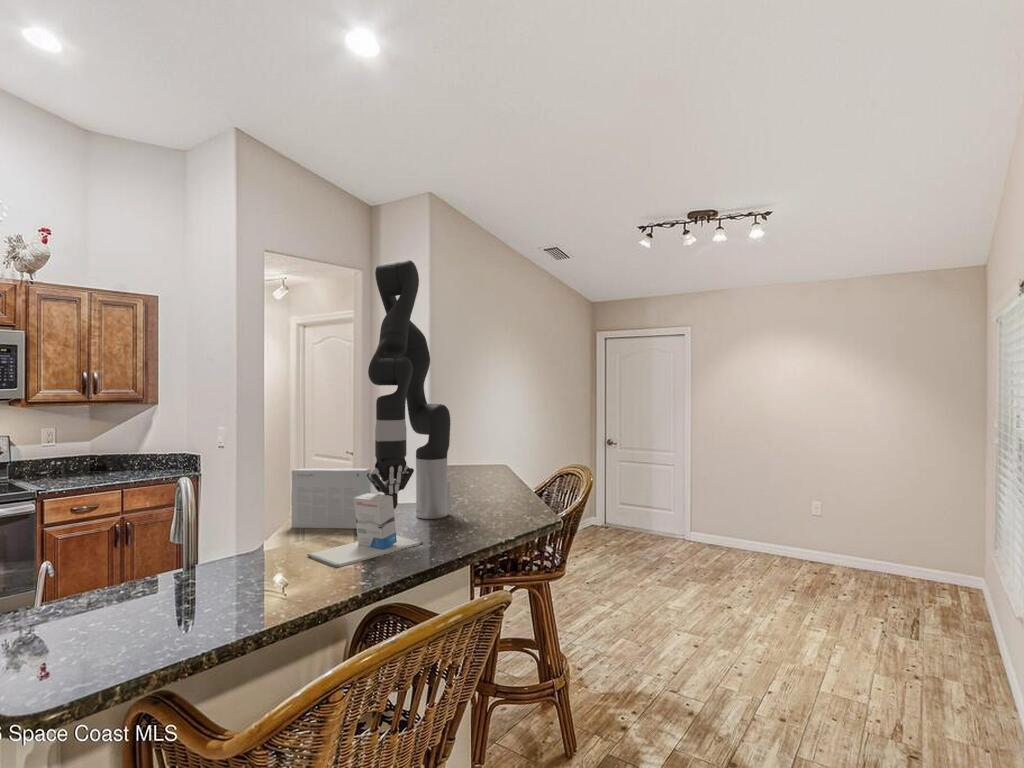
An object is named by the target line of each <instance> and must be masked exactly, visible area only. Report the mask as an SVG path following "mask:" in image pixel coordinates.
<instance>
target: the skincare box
mask: <svg viewBox="0 0 1024 768" xmlns="http://www.w3.org/2000/svg"><path fill="white" fill-rule="evenodd" d="M371 472H372V470H371V468H352V467H351V468H349V467H345V468H342V467H338V468H330V467H329V468H327V467H326V468H320V467H317V468H314V467H313V468H310V467H309V468H305V467H304V468H296V469H291V497H290V498H291V500H290V501H291V502H290V503H291V524H290V525H291V529H292V528H293V529H348V530H350V529H351V530H352V529H353V530H354V529H355V530H357V526H356V517H355V506H354V498H355V497H358V496H361V495H364V494H366V493H371V491H372V489H371V484H372V483H371V481H370V480H369V479H368V477H367V474H368V473H371ZM371 494H372V493H371Z"/></svg>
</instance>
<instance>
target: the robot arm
mask: <svg viewBox="0 0 1024 768" xmlns="http://www.w3.org/2000/svg"><path fill="white" fill-rule="evenodd" d="M418 271H419V270H418V268H417V265H416V264H415V263H414V262H413V261H412V260H411V259H402V260H397V261H392V262H391V261H390V262H386V263H384V262H383V263H381V264H377V266H376V267H375V273H374V275H375V281H376V286H377V290H378V293H379V295H380V296H379V297H380V299H381V302H382V305H383V308H384V311H385V313H386V314H385V317H384V318H383V320H382V322H381V325H380V330H379V331H380V333H379V340H378V341H379V342H378V344H377V347H376V350H375V353H374V354H373V356H372V359H371V360H370V362H369V366H368V369H367V371H368V372H367V373H368V374H367V375H368V379H369V380H370V381H371V383H372V384H373V385H376V386H397V388H396V390H395V391H394V392H393V393H389V394H385V395H384V394H383V395H380V396H378V398H376V403H375V404H376V405H375V407H376V413H375V414H376V415H375V417H376V418H375V419H376V420H375V428H374V429H375V430H374V436H375V437H374V441H375V442H374V443H375V444H374V445H375V446H374V448H375V449H374V451H375V454H374V456H375V460H376V461H375V464H374V469H373V470H371V473H368V474H367V477H368V479H369V480H370V481H371V484H372V486H374V488H375V489H376V491H377V492H379V493H383V495H389V496H393V507H394V510H395V509H397V507H398V499H399V498H398V497H399V496H398V493H399V492H400V491H404V490H405V488H406V486H407V484H408V482H409V481H410V479H411V477H412V475H413V474H414V471H415V495H416V496H415V497H416V498H415V499H416V500H415V502H416V503H415V504H416V505H415V506H416V507H415V515H416V516H415V517H416V518H419V519H423V520H424V519H425V520H435V519H436V520H437V519H443V518H446V517H447V516H449V515H450V514H451V483H450V482H449V481H448V451H449V448H450V440H451V439H450V437H451V414H450V411H449V409H448V407H447V406H446V405H445V404H442V403H428V401H427V399H426V393H425V381H426V377H427V375H428V372H429V369H430V365H431V356H430V351H429V346H428V342H427V339H426V336H425V335H424V333H423V332H422V330H420V329H419V327H418V326H417V325H416V324H415V323H413V322H412V321H411V316H412V314H413V309H414V307H415V303H416V299H417V295H418V292H419V285H420V279H419V278H420V276H419V272H418ZM397 297H398V298H397ZM406 406H407V412H408V413H407V414H408V419H409V423H410V426H411V429H412V430H413V432H414V433H416V434H417V435H418V434H419V435H428V441H427V443H425V444H424V445H422V446H420V447H418V448H416V450H415V469H416V470H415V469H414V468H411V467H409V466H408V465H407V461H406V457H407V424H406V422H407V421H406Z"/></svg>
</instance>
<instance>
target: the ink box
mask: <svg viewBox="0 0 1024 768" xmlns="http://www.w3.org/2000/svg"><path fill="white" fill-rule="evenodd" d="M354 506H355V517H356V526H357V529H356V534H357V542H358V544H359V545H363V546H368V547H374V548H379V549H385V548H387V547H389V546H391V545H393V544H395V543H396V542H397V539H396V534H397V531H396V529H397V528H396V521H395V509H394V507H393V496H389V495H385V494H379V493H366V494H364V495H361V496H358V497H355V498H354Z"/></svg>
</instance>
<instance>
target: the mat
mask: <svg viewBox="0 0 1024 768" xmlns="http://www.w3.org/2000/svg"><path fill="white" fill-rule="evenodd" d="M396 539H397V542H396V543H395V544H393V545H391V546H389V547H387V548H385V549H379V548H374V547H368V546H363V545H359V544H358V541H356V542H351V543H347V544H343V545H339V546H335V547H331V548H327V549H323V550H319V551H314V552H310V553H306V557H307V556H308V557H307V558H309V557H311V558H310V559H312V558H314V559H316V560H315V561H317V560H319V561H321V562H320V563H322V562H323V563H322V564H325V563H326V564H325V565H327V564H328V566H331V567H334V568H335V569H337V568H341V567H344V566H347V565H352V564H355V563H359V562H363V561H365V560H370V559H373V558H377V557H381V556H384V554H385V555H387V554H391V552H392V553H395V552H394V551H396V552H399V551H402V550H401V549H403V550H406V549H410V548H413V546H414V547H417V546H420V544H421V545H424V541H423V540H419V539H416V538H413V537H408V536H404V535H401V534H398V533H396ZM409 547H410V548H409ZM405 548H406V549H405ZM398 550H399V551H398ZM314 559H313V560H314ZM319 561H318V562H319Z"/></svg>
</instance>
